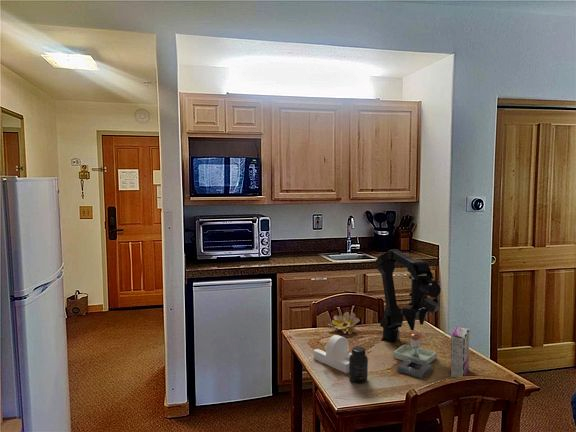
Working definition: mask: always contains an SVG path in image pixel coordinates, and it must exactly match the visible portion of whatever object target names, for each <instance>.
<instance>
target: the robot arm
mask: <svg viewBox="0 0 576 432" xmlns="http://www.w3.org/2000/svg"><path fill="white" fill-rule="evenodd" d="M397 263H398V264H399V265H401V266H403V267H405V268H406V270H407V272H408V274H410V275H408V279H410V280H411V282H410V283H411V284H410V285H411V286H410V287H411V288H410V289H411V290H410V292H409V293H408V296H409V297H410V302H409V303H408V305H406V306H404V307H402V308H399V306H398V303H397V297H396V290H395V289H396V288H395V282H394V271H395V269H396V264H397ZM375 264H376V268H377V271H378V273H380V275H381V278H382V285H383V292H384V293H383V294H384V301H385V308H384V309H383V317H382V319H380V321H379V325H380V327H381V328H382V337H381V339H380V340H381V341H385V342H389V343H392V344H394V343H396V342H397V341H399V340H400V339H401V338H400V330H399V328H402V326H403V323H404V318H405V320H406V323H407V325H408V326H409V328H410V331H414V330H415V327H416V321H417V318H418V321H419V324H420V325H421V326H423V325H424V322H425V319H426V317H427V313H428V312H430V313H432V314H433V313H435V312H438V309H439V307H440V306H441V303H440V299H439V298H437V297H438V296H439V295H440V293H441V289H442V288H441V287H440V286H441V285H439V284H438V282H437V279H434V275H433V272H432V270H431V267H430V265H429V263H428V262H427V261H426V260H421V259H415V258H412V257H411V256H409V255H408V254H405V253H404V252H402V251H401V250H399V249H395V248H394V249H389V250H387V251H386V252H385V253H383V254H381V255H379V256H377V257H376V260H375ZM429 297H430V298H429Z"/></svg>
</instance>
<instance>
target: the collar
mask: <svg viewBox="0 0 576 432" xmlns="http://www.w3.org/2000/svg"><path fill="white" fill-rule="evenodd" d="M396 368H397V369H396V371H397V372H399V373H401V374H405V375H408V376H411V377H415V378H416V379H421V380H423V379H424V378H426V377H427V376H428V375H429V374H430V373H431V372H432V371H433V364H431V363H430V364H427V363H423V362H420V361H416V360H413V359H409V358H408V359H406V360H405V361H403V362H401V363H400V364H398V365H397V367H396Z"/></svg>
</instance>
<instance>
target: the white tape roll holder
mask: <svg viewBox="0 0 576 432" xmlns="http://www.w3.org/2000/svg"><path fill="white" fill-rule="evenodd" d="M349 345H350V343H349V341H348V339H347V338H346V337H344V336H341V335H339V334H334V335H331V337H329V339H328V341H327V343H326V345H325V351H324V350H321V349H319V348H315V349H313V359H314V360H316V361H318V362H320V363H322V364H325V365H327V366H329V367H332V368H334V369H336V370H338V371H340V372H343V373H345V374H347V373H348V374H349V357H350V355H351V354H352V352H349V350H350V346H349Z"/></svg>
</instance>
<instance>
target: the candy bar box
mask: <svg viewBox="0 0 576 432" xmlns="http://www.w3.org/2000/svg"><path fill="white" fill-rule="evenodd" d="M450 337H451V340H450V341H451V343H450V350H451V351H450V353H451V354H450V358H451V359H450V378H452V379H454V378H453V377H460V376H465V377H466V375H467V373H468V371H469V367H470V366H469V365H470V364H469V363H470V362H469V359H470V356H469V355H470V328H466V327H459V326H456V327H455V329H454V331H453V333H452V334H451V336H450Z"/></svg>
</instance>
